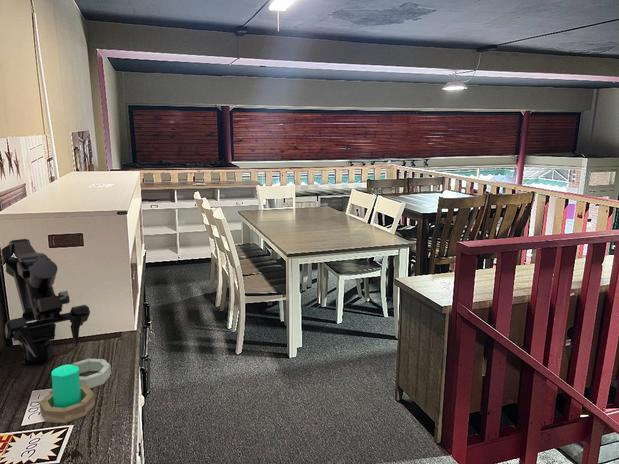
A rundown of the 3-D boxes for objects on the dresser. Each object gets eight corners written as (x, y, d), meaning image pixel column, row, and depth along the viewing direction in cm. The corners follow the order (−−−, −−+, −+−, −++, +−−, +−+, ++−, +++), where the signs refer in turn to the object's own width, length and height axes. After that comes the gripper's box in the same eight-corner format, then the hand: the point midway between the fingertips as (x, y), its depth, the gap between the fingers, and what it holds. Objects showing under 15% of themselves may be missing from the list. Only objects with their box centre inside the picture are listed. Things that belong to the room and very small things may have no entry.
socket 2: (56, 388, 119) (55, 378, 118) (77, 367, 130) (77, 358, 129) (98, 390, 119) (97, 380, 118) (115, 369, 130) (115, 359, 129)
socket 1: (32, 421, 105) (31, 410, 105) (58, 395, 116) (57, 384, 115) (79, 423, 105) (78, 412, 105) (100, 396, 116) (100, 386, 116)
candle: (70, 418, 107) (66, 372, 105) (48, 414, 108) (44, 368, 106) (87, 403, 113) (84, 360, 111) (66, 400, 114) (62, 357, 112)
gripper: (2, 289, 107) (15, 349, 101) (85, 276, 120) (102, 328, 114) (-1, 310, 114) (12, 367, 109) (78, 295, 127) (93, 345, 121)
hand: (56, 351), depth 113 cm, fingers open, 9 cm apart
